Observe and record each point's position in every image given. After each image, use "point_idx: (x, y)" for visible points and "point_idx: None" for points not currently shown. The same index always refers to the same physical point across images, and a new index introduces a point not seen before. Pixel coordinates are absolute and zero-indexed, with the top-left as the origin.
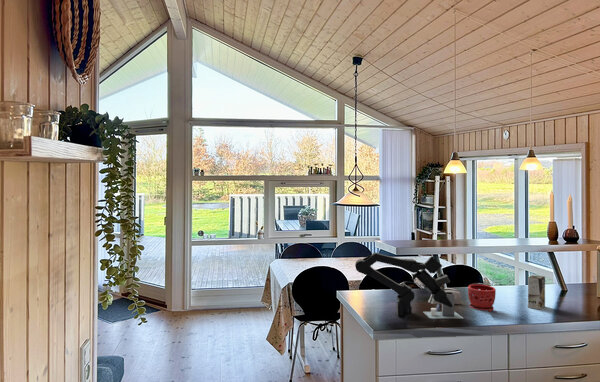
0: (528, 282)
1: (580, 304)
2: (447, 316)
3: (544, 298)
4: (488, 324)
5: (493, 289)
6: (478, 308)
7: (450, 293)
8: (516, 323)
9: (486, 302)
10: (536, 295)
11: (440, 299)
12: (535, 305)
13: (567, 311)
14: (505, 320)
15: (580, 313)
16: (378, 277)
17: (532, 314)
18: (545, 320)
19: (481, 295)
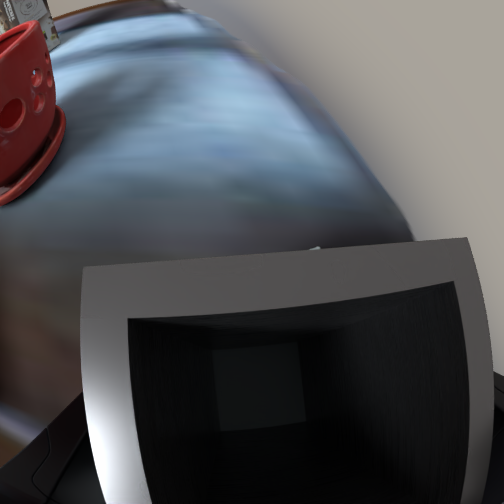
0: (13, 4)
1: None
2: None
3: None
4: (304, 128)
5: (19, 26)
6: (35, 157)
7: (143, 380)
8: (230, 53)
9: (53, 88)
10: (41, 18)
11: None
12: (48, 42)
13: (82, 19)
14: (193, 72)
15: (100, 9)
16: None
17: (101, 40)
18: (166, 19)
19: (28, 69)
